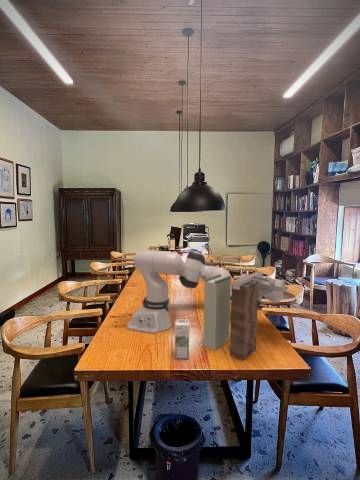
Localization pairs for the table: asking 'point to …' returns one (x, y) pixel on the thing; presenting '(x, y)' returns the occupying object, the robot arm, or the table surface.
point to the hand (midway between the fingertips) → (256, 276)
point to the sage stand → (216, 311)
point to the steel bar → (247, 280)
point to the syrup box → (181, 339)
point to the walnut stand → (243, 321)
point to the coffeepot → (212, 264)
